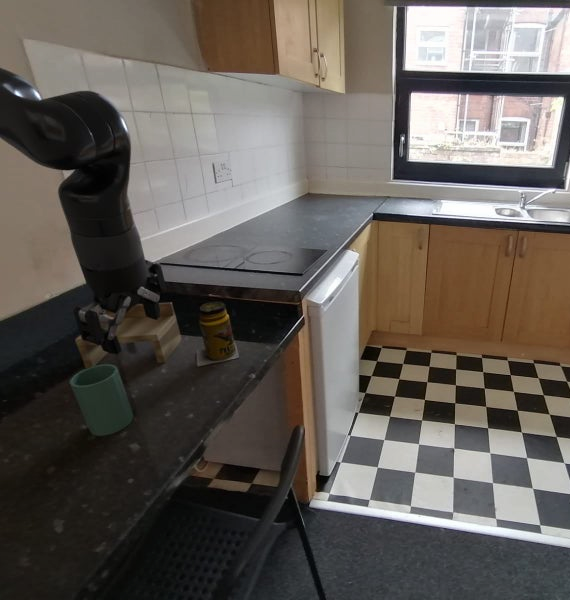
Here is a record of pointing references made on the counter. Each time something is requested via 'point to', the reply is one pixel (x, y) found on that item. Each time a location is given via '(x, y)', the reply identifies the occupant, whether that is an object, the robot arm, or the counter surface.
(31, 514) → the counter surface
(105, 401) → the cup
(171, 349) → the shelf
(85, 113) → the robot arm
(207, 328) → the condiment
